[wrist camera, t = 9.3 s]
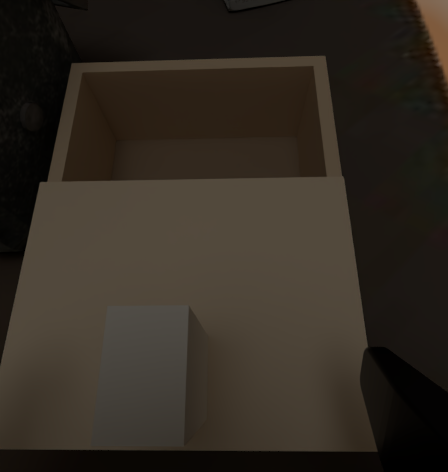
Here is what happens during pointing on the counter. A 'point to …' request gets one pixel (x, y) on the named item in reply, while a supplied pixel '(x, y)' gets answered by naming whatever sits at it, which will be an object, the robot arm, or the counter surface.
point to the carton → (197, 120)
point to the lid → (187, 319)
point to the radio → (29, 106)
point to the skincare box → (246, 4)
